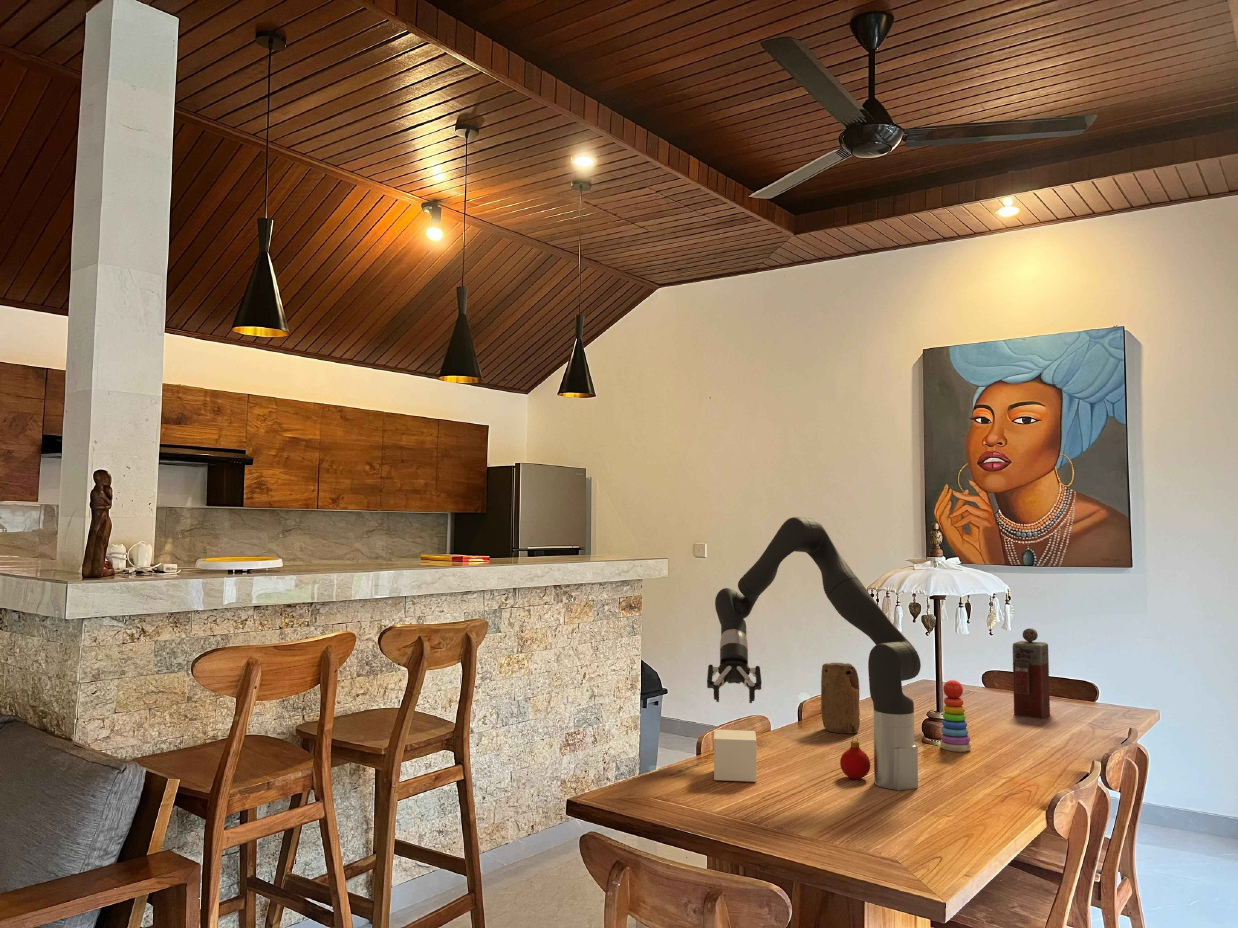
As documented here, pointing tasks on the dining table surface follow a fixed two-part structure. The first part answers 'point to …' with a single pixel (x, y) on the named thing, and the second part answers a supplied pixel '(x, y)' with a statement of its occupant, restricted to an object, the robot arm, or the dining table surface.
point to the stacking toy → (954, 720)
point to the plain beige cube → (735, 755)
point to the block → (840, 698)
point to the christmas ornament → (855, 762)
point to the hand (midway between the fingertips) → (734, 700)
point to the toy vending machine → (1031, 676)
